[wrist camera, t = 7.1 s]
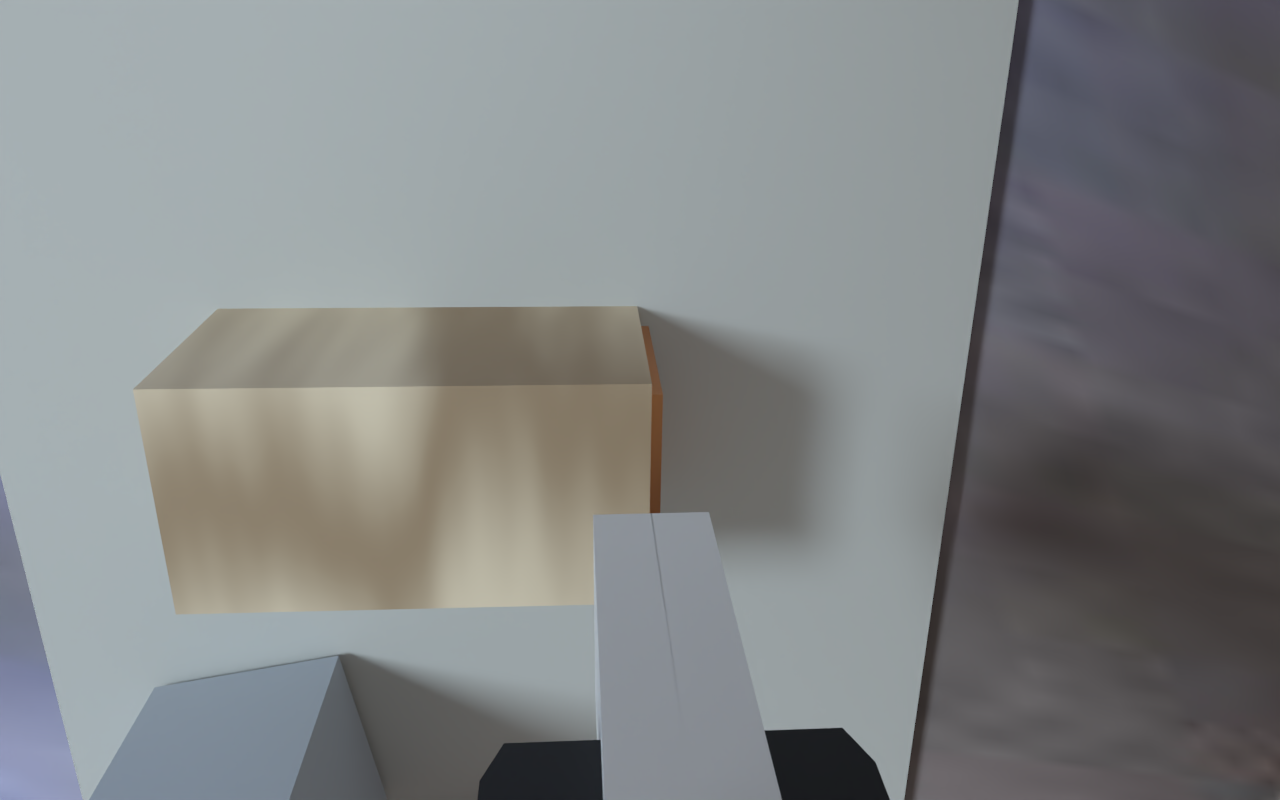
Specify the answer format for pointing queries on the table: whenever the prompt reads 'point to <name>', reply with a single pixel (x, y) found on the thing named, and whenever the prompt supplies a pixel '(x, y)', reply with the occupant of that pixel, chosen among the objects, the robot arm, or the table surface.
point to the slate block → (248, 740)
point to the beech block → (398, 455)
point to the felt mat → (508, 277)
